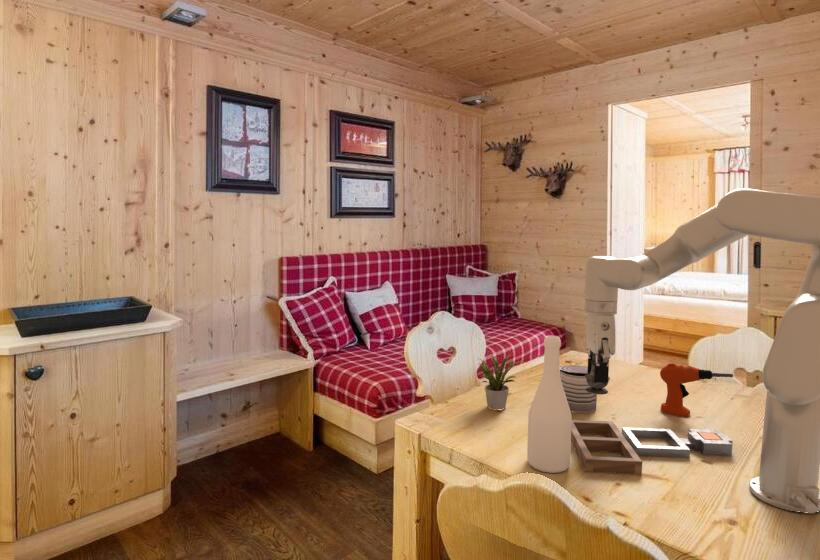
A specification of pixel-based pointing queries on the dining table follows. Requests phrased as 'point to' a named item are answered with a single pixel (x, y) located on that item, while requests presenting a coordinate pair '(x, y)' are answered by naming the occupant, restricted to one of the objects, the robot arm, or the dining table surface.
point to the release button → (709, 436)
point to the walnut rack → (604, 448)
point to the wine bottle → (550, 417)
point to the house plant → (497, 383)
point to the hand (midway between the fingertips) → (597, 377)
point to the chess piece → (594, 386)
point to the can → (577, 389)
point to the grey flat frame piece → (677, 443)
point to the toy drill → (681, 386)
